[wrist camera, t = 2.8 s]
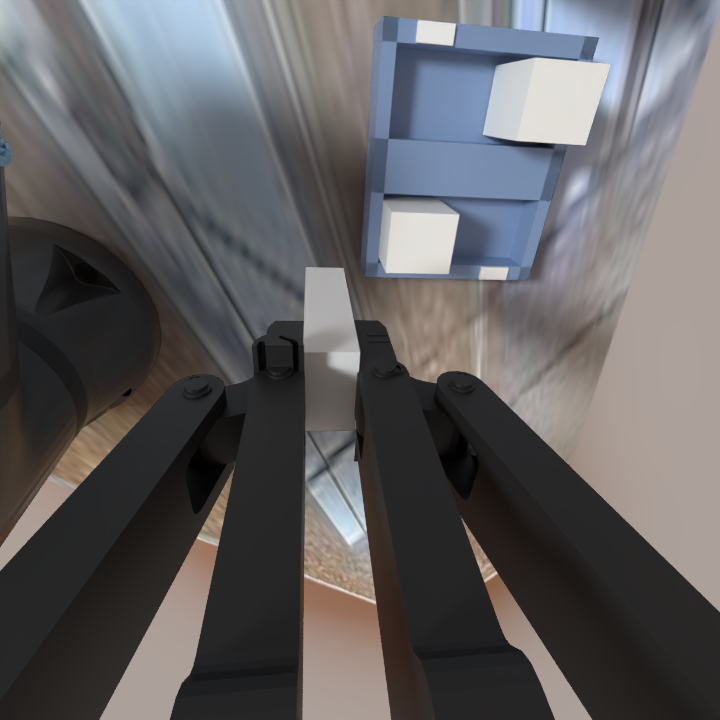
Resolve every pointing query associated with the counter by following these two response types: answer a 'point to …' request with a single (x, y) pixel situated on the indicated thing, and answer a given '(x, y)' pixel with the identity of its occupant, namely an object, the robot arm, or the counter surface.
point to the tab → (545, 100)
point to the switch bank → (459, 142)
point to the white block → (417, 235)
